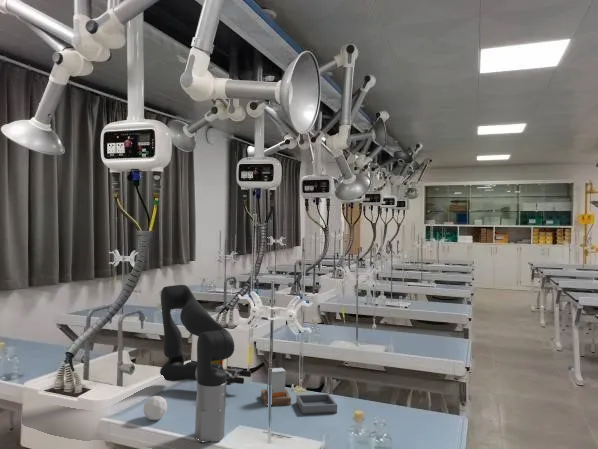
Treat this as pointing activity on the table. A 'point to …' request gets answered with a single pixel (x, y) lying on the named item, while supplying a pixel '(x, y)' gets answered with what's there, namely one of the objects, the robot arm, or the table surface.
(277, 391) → the skincare box
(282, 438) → the table surface
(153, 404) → the geometric ball
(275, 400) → the socket block
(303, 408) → the tray
